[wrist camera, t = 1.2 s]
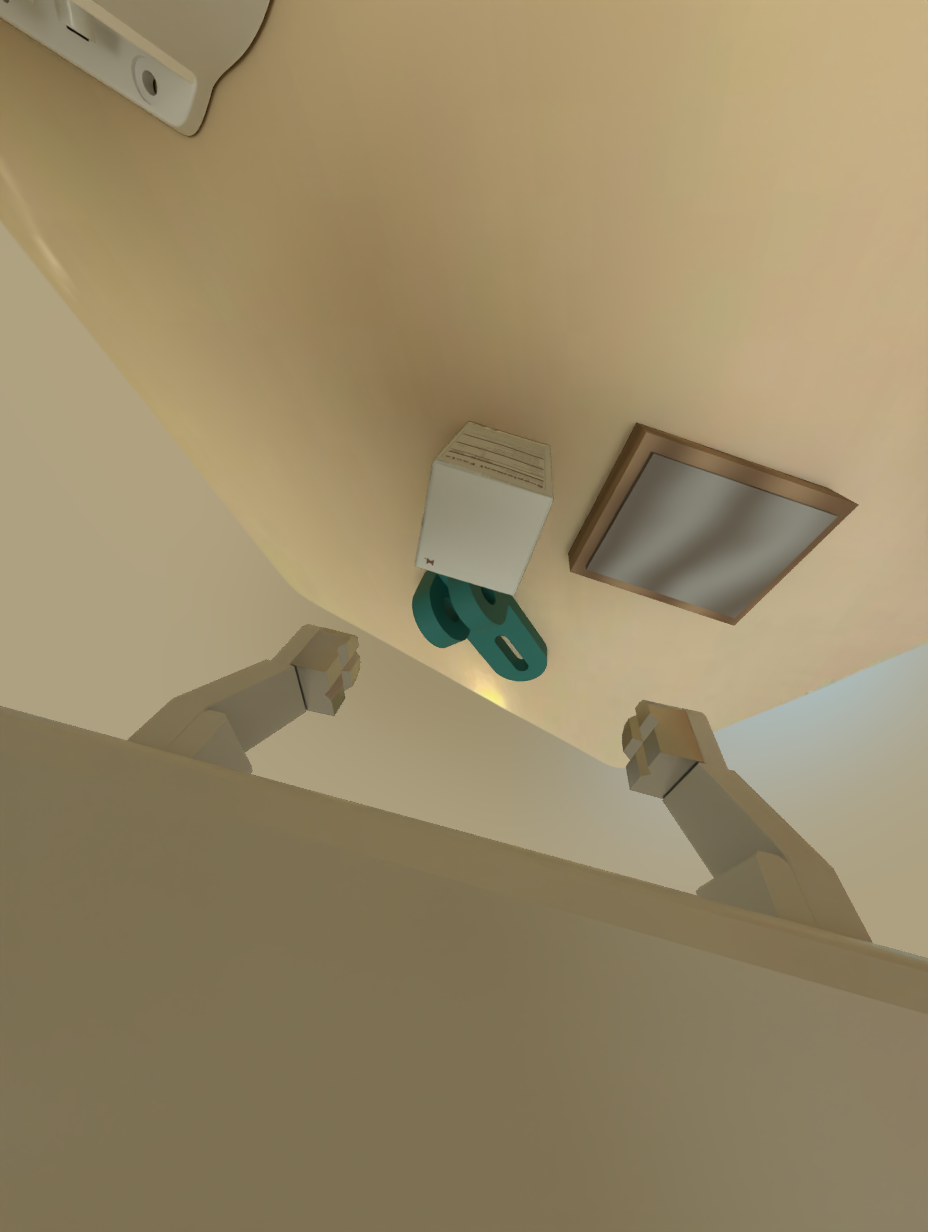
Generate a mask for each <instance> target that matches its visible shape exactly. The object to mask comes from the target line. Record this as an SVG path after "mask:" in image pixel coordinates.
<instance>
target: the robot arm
mask: <svg viewBox="0 0 928 1232" xmlns="http://www.w3.org/2000/svg"><path fill="white" fill-rule="evenodd" d="M269 1H270V0H0V18H2V19H3V20H5V21H6V22H8V23H9V24H11V25H12V26H14V27H16V28H17V29H19V30H20V31H22V32H23V33H25V34H27V35H28V36H30V37H31V38H33V39H34V40H36V41H37V42H39V43H41V44H42V45H44V46H45V47H47V48H48V49H50V50H51V51H53V52H55V53H56V54H58V55H59V56H61V57H62V58H64V59H65V60H67V61H69V62H70V63H72V64H73V65H75V66H76V67H78V68H80V69H81V70H83V71H84V72H86V73H87V74H89V75H90V76H92V77H94V78H95V79H97V80H98V81H100V82H101V83H103V84H104V85H106V86H108V87H109V88H111V89H112V90H114V91H115V92H117V93H119V94H120V95H122V96H123V97H125V98H126V99H128V100H129V101H131V102H133V103H134V104H136V105H137V106H139V107H140V108H142V109H143V110H145V111H147V112H148V113H150V114H151V115H153V116H154V117H156V118H158V119H159V120H161V121H162V122H164V123H165V124H167V125H168V126H170V127H172V128H173V129H175V130H176V131H178V132H179V133H181V134H184V135H187V136H190V135H193V134H195V133H196V132H197V130H198V129H199V127H200V125H201V123H202V120H203V118H204V115H205V112H206V109H207V106H208V103H209V99H210V96H211V92H212V89H213V86H214V84H215V83H216V81H217V80H218V79H219V78H220V76H221V75H222V74H223V73H224V72H225V71H226V70H227V69H229V68H230V67H231V66H232V65H233V64H234V63H235V62H236V61H237V60H238V59H239V58H240V57H241V56H242V55H243V54H244V53H245V51H246V50H247V48H248V47H249V46H250V44H251V43H252V41H253V39H254V37H255V36H256V34H257V32H258V30H259V28H260V26H261V23H262V21H263V19H264V16H265V13H266V11H267V8H268V5H269ZM154 78H155V80H156V83H157V94H155V92H154V89H153V80H154ZM358 646H359V643H358V637H357V636H355V635H351V634H347V633H343V632H340V631H336V630H332V629H328V628H322V627H318V626H314V625H311V624H307V625H305V626H303V627H301V629H300V630H299V631H298V632H297V633H296V634H295V635H294V636H293V637H292V638H291V639H290V641H289V642H288V643H287V644H286V645H285V646H284V647H283V648H282V649H281V651H279V653H278V654H277V655H276V656H275V657H274V658H273V659H272V660H271V661H270V660H264V661H262V662H259V663H257V664H255V665H252V666H250V667H247V668H245V669H242V670H240V671H238V672H235V673H233V674H231V675H228V676H226V677H223V678H221V679H218V680H216V681H214V682H211V683H209V684H206V685H204V686H202V687H199V688H197V689H194V690H192V691H190V692H187V693H185V694H182V695H180V696H177V697H175V698H173V699H172V700H171V701H169V702H168V703H167V704H166V705H165V706H164V707H163V708H162V709H161V710H160V711H159V712H157V713H156V714H155V715H154V716H153V717H152V718H151V719H150V720H149V721H148V722H147V723H145V724H144V725H143V726H142V727H141V728H140V729H139V730H138V731H137V732H135V733H134V734H133V735H132V736H131V737H130V738H129V739H128V740H123V739H120V738H116V737H112V736H109V735H105V734H101V733H97V732H94V731H90V730H86V729H83V728H79V727H76V726H72V725H68V724H64V723H61V722H57V721H54V720H50V719H46V718H43V717H39V716H35V715H31V714H28V713H24V712H21V711H17V710H13V709H10V708H6V707H3V706H0V1232H928V958H925V957H922V956H918V955H914V954H911V953H907V952H903V951H900V950H896V949H892V948H888V947H885V946H881V945H877V944H874V943H872V940H871V938H870V937H869V935H868V933H867V931H866V929H865V927H864V925H863V923H862V922H861V920H860V918H859V916H858V914H857V912H856V910H855V908H854V906H853V904H852V903H851V901H850V899H849V897H848V895H847V893H846V891H845V889H844V888H843V886H842V884H841V882H840V880H839V878H838V876H837V874H836V873H835V871H834V869H833V868H832V867H831V866H830V865H829V864H828V863H827V862H826V861H825V860H824V859H823V858H822V857H821V856H820V855H819V854H818V853H817V852H816V851H815V850H814V849H813V848H812V847H811V846H810V845H809V844H808V843H807V842H806V841H805V840H804V839H803V838H802V837H801V836H800V835H799V834H798V833H797V832H796V831H795V830H794V829H793V828H792V827H791V826H790V825H789V824H788V823H787V822H786V821H785V820H784V819H783V818H782V817H781V816H780V815H778V813H776V812H775V810H774V809H772V808H771V807H770V806H769V805H768V804H767V803H766V802H765V801H764V800H763V799H762V798H761V797H760V796H759V795H758V794H757V793H756V792H755V791H754V790H753V789H752V788H751V787H750V786H749V785H748V784H747V783H746V782H745V781H744V780H743V779H742V778H741V777H740V776H739V775H738V774H737V773H736V772H735V771H733V770H729V769H728V768H727V766H726V763H725V761H724V759H723V756H722V754H721V751H720V749H719V746H718V744H717V742H716V739H715V737H714V734H713V732H712V729H711V727H710V725H709V722H708V720H707V718H706V716H705V715H704V714H703V713H701V712H697V711H692V710H687V709H683V708H682V709H681V708H678V707H673V706H669V705H664V704H660V703H655V702H650V701H646V700H642V701H641V702H639V704H638V705H637V706H636V708H635V710H636V716H633V717H631V718H629V719H628V721H627V722H626V724H625V726H624V730H623V734H622V746H623V752H624V753H625V754H626V755H627V757H628V758H629V759H630V761H629V763H628V764H627V765H626V770H627V776H628V782H629V787H630V790H632V791H636V792H640V793H643V794H647V795H651V796H654V797H658V798H662V799H663V802H664V804H665V805H666V807H667V808H668V810H669V811H670V813H671V814H672V816H673V817H674V818H675V820H676V822H677V823H678V825H679V826H680V828H681V829H682V831H683V832H684V834H685V835H686V837H687V838H688V840H689V841H690V843H691V844H692V845H693V847H694V849H695V850H696V851H697V853H698V855H699V856H700V858H701V859H702V861H703V862H704V864H705V865H706V867H707V868H708V869H709V871H710V872H711V874H712V875H713V877H714V879H712V880H710V881H709V882H707V883H706V884H704V885H702V886H701V887H700V888H699V889H698V890H697V891H696V893H697V895H693V894H690V893H686V892H682V891H679V890H675V889H671V888H667V887H664V886H660V885H657V884H653V883H649V882H645V881H642V880H638V879H635V878H631V877H627V876H624V875H620V874H616V873H613V872H609V871H605V870H601V869H598V868H594V867H591V866H587V865H583V864H579V863H575V862H572V861H569V860H565V859H561V858H557V857H554V856H550V855H546V854H543V853H539V852H535V851H532V850H528V849H524V848H521V847H517V846H513V845H510V844H506V843H502V842H499V841H495V840H491V839H488V838H484V837H480V836H476V835H473V834H469V833H466V832H462V831H458V830H454V829H451V828H447V827H444V826H440V825H436V824H433V823H429V822H425V821H421V820H418V819H414V818H410V817H407V816H403V815H400V814H396V813H392V812H388V811H384V810H381V809H377V808H374V807H370V806H366V805H363V804H359V803H355V802H352V801H348V800H344V799H340V798H337V797H333V796H330V795H326V794H322V793H318V792H315V791H311V790H307V789H304V788H300V787H296V786H293V785H289V784H285V783H282V782H278V781H274V780H270V779H267V778H263V777H259V776H256V775H252V774H251V773H252V766H251V764H250V762H249V760H248V758H247V756H246V754H245V752H246V751H248V750H249V749H251V748H252V747H254V746H255V745H257V744H258V743H260V742H261V741H263V740H264V739H266V738H267V737H269V736H270V735H272V734H273V733H275V732H276V731H278V730H279V729H281V728H282V727H284V726H285V725H287V724H288V723H290V722H291V721H293V720H294V719H296V718H297V717H299V716H300V715H302V714H303V713H305V712H306V710H309V711H313V712H318V713H323V714H327V715H332V716H335V714H336V713H337V711H338V709H339V708H340V706H341V704H342V703H343V701H344V699H345V693H344V691H345V690H347V689H348V688H350V687H352V686H353V684H354V682H355V681H356V679H357V676H358V673H359V670H360V663H361V662H360V656H359V655H358V653H357V652H356V649H357V648H358Z"/></svg>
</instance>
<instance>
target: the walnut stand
mask: <svg viewBox="0 0 928 1232" xmlns="http://www.w3.org/2000/svg"><path fill="white" fill-rule="evenodd" d="M857 506H858V504H856V503H854V502H853V501H851V500H849V499H847V498H845V497H843V496H842V495H840V494H838V493H836V492H834V491H832V490H831V489H829V488H826V487H823V486H820V485H817V484H814V483H811V482H808V481H805V480H802V479H800V478H797V477H794V476H791V475H788V474H785V473H782V472H779V471H776V470H773V469H770V468H767V467H765V466H762V465H759V464H756V463H753V462H750V461H747V460H744V459H741V458H738V457H735V456H732V455H730V454H727V453H724V452H721V451H718V450H715V449H712V448H709V447H706V446H703V445H700V444H698V443H695V442H692V441H689V440H686V439H683V438H680V437H677V436H674V435H671V434H668V433H665V432H663V431H660V430H657V429H654V428H651V427H648V426H645V425H642V424H639V423H637V424H636V426H635V427H634V429H633V431H632V433H631V435H630V437H629V439H628V441H627V443H626V445H625V447H624V448H623V450H622V452H621V454H620V456H619V458H618V460H617V462H616V464H615V466H614V468H613V469H612V471H611V473H610V475H609V477H608V479H607V481H606V483H605V485H604V487H603V489H602V491H601V492H600V494H599V496H598V498H597V500H596V502H595V504H594V506H593V508H592V510H591V512H590V513H589V515H588V517H587V519H586V521H585V523H584V525H583V527H582V529H581V531H580V533H579V534H578V536H577V538H576V540H575V542H574V544H573V546H572V548H571V550H570V552H569V554H568V555H569V564H570V572H573V573H576V574H579V575H582V576H585V577H588V578H591V579H594V580H597V581H600V582H603V583H606V584H609V585H612V586H615V587H618V588H621V589H625V590H628V591H631V592H634V593H637V594H640V595H643V596H646V597H649V598H652V599H655V600H658V601H661V602H664V603H667V604H670V605H673V606H676V607H679V608H682V609H685V610H688V611H691V612H694V613H697V614H700V615H703V616H706V617H709V618H713V619H716V620H719V621H722V622H725V623H728V624H731V625H735V624H736V623H737V622H738V621H739V620H740V619H741V618H743V617H744V616H745V615H746V614H747V613H748V612H749V611H750V610H751V609H752V608H753V607H754V606H755V605H756V604H757V603H758V602H759V601H760V600H761V599H762V598H763V597H764V596H765V595H766V594H767V593H768V592H769V591H770V590H771V589H772V588H773V587H774V586H775V585H777V584H778V583H779V582H780V581H781V580H782V579H783V578H784V577H785V576H786V575H787V574H788V573H789V572H790V571H791V570H792V569H793V568H794V567H795V566H796V565H797V564H798V563H799V562H800V561H801V560H802V559H803V558H804V557H805V556H806V555H807V554H808V553H809V552H811V551H812V550H813V549H814V548H815V547H816V546H817V545H818V544H819V543H820V542H821V541H822V540H823V539H824V538H825V537H826V536H827V535H828V534H829V533H830V532H831V531H832V530H833V529H834V528H835V527H836V526H837V525H838V524H839V523H840V522H841V521H842V520H843V519H845V518H846V517H847V516H848V515H849V514H850V513H851V512H852V511H853V510H854V509H855V508H856V507H857Z"/></svg>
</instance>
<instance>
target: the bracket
mask: <svg viewBox="0 0 928 1232" xmlns="http://www.w3.org/2000/svg"><path fill="white" fill-rule="evenodd" d="M412 608H413V614H414V618H415V621H416V623H417V625H418V627H419V629H420V631H421V633H422V634H423V635H424V637H425V638H426V639H427V640H428V641H429V642H430V643H431V644H433V645H434V646H436V647H439V648H446V647H449V646H451V645H453V644H456V643H458V642H461V641H463V640H465V639H466V638H467V639H468V640H469V641H470V642H471V643H472V645H473V646H474V647H475V648H476V649H477V651H478V652H479V653H480V654H481V655H482V657H483V658H484V659H485V660H486V661H487V663H488V664H489V665H490V666H491V667H492V669H493V670H494V671H495V672H496V673H497V674H499V675H500V676H502V677H504V678H506V679H509V680H513V681H528V680H532V679H535V678H537V677H538V676H540V675H541V674H542V673H543V672H544V671H545V669H546V666H547V647H546V644H545V642H544V641H543V639H542V638H541V637H540V635H539V634H538V632H537V631H536V629H535V628H534V627H533V625H532V624H531V622H530V621H529V620H528V618H527V617H526V615H525V614H524V612H523V611H522V610H521V608H520V607H519V605H518V604H517V602H516V601H515V600H514V598H513V597H512V595H509V594H505V593H502V592H498V591H495V590H492V589H489V588H485V587H482V586H478V585H475V584H472V583H468V582H465V581H462V580H458V579H455V578H452V577H448V576H445V575H442V574H438V573H435V572H432V571H429V570H428V571H426V572H425V574H424V576H423V578H422V580H421V582H420V584H419V586H418V588H417V590H416V592H415V594H414V596H413V601H412ZM501 636H505V637H507V638H508V639H509V640H510V642H511V643H512V644H513V646H514V647H515V648H516V650H517V651H518V652H519V653H520V655H521V656H522V657H523V659H519V658H517V657H516V655H515V654H514V653H513V652H512V650H511V649H510V648H509V646H508V645H507V644H506V642H505V641H504V640H503V639H502V637H501Z"/></svg>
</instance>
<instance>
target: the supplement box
mask: <svg viewBox="0 0 928 1232" xmlns="http://www.w3.org/2000/svg"><path fill="white" fill-rule="evenodd" d="M553 500H554V498H553V484H552V465H551V452H550V446H549V445H545V444H542V443H538V442H535V441H532V440H528V439H525V438H522V437H518V436H515V435H512V434H509V433H505V432H502V431H499V430H496V429H492V428H489V427H486V426H482V425H479V424H476V423H473V422H467V423H466V425H465V426H464V427H463V428H462V429H461V430H460V431H459V433H458V434H457V435H456V436H455V437H454V438H453V439H452V440H451V441H450V442H449V443H448V445H447V446H446V447H445V448H444V449H443V450H442V451H441V452H440V453H439V455H438V456H437V457H436V458H435V459H434V460H433V463H432V467H431V473H430V479H429V485H428V491H427V497H426V502H425V508H424V514H423V518H422V523H421V532H420V538H419V544H418V549H417V555H416V560H415V566H416V567H418V568H422V569H426V570H429V571H432V572H435V573H438V574H442V575H445V576H448V577H452V578H455V579H458V580H462V581H465V582H468V583H472V584H475V585H478V586H482V587H485V588H489V589H492V590H495V591H498V592H502V593H505V594H509V595H515V593H516V591H517V588H518V586H519V584H520V582H521V579H522V577H523V574H524V572H525V570H526V567H527V565H528V562H529V560H530V558H531V555H532V553H533V550H534V548H535V545H536V543H537V540H538V538H539V535H540V533H541V530H542V528H543V526H544V523H545V521H546V518H547V516H548V513H549V510H550V508H551V505H552V502H553Z"/></svg>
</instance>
